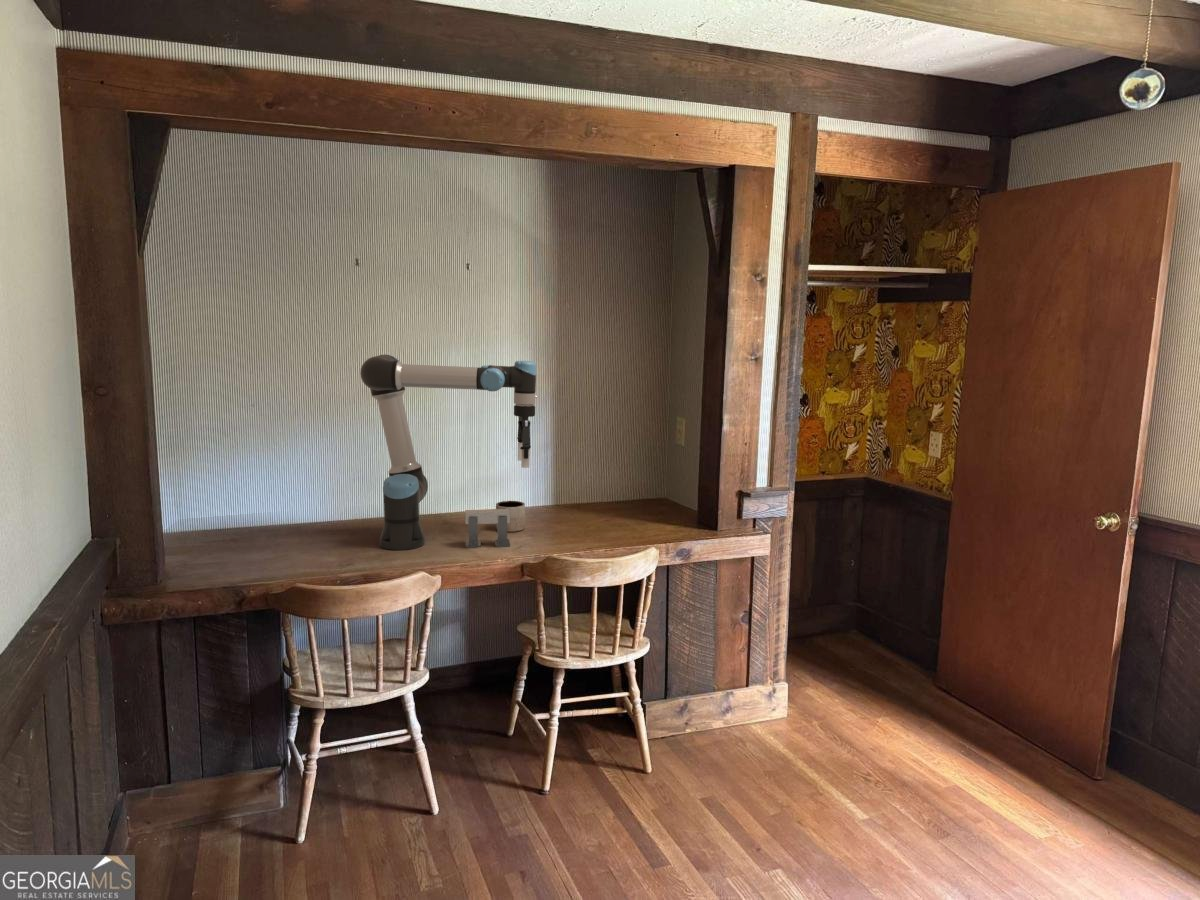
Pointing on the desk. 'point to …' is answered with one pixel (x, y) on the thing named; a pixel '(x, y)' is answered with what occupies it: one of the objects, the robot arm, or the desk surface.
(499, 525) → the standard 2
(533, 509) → the desk surface
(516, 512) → the planter
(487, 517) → the rail
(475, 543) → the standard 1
